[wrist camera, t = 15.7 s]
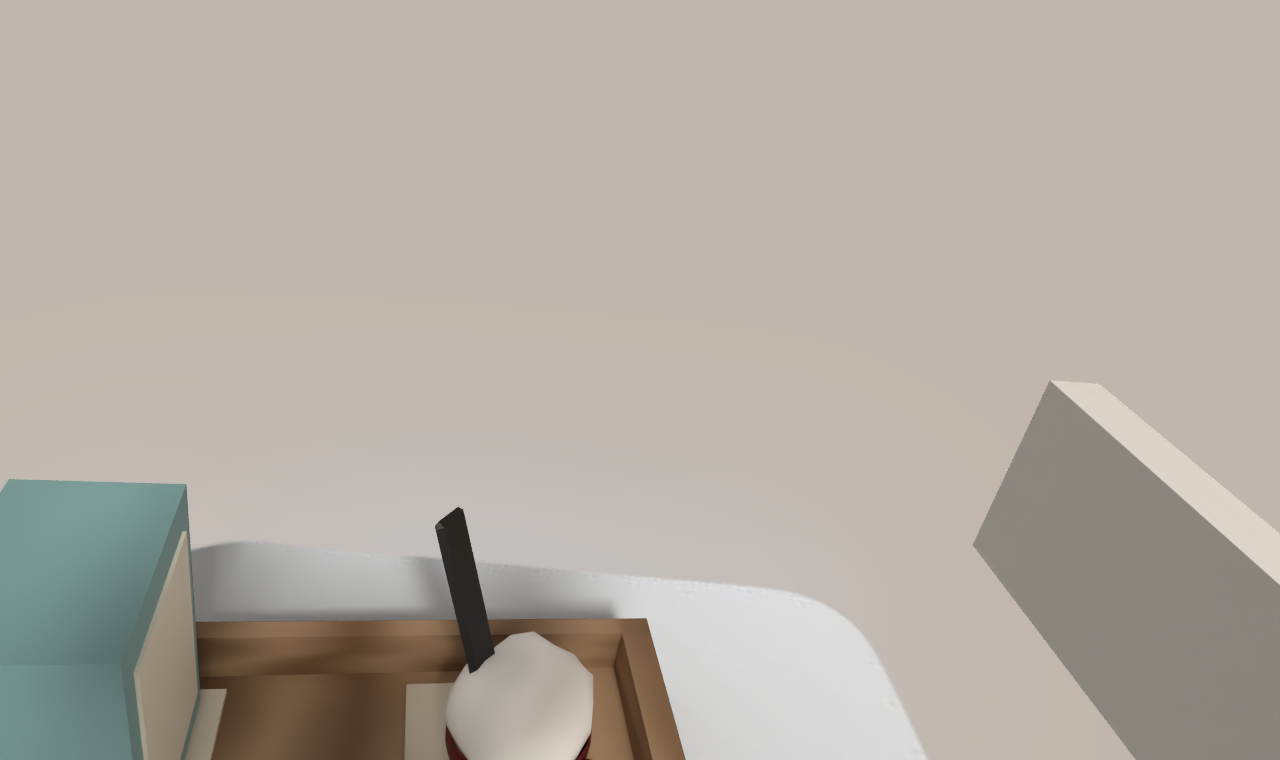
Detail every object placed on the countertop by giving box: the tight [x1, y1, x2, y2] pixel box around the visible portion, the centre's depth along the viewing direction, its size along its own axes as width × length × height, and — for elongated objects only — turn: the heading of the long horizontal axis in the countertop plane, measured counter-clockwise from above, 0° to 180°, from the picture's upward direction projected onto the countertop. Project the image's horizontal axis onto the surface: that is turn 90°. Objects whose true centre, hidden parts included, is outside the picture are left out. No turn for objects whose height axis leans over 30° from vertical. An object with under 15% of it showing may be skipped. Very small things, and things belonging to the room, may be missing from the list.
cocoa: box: [435, 507, 593, 760], centre depth 38 cm, size 10×6×12 cm, turn 40°
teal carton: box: [0, 479, 200, 760], centre depth 34 cm, size 6×9×12 cm
